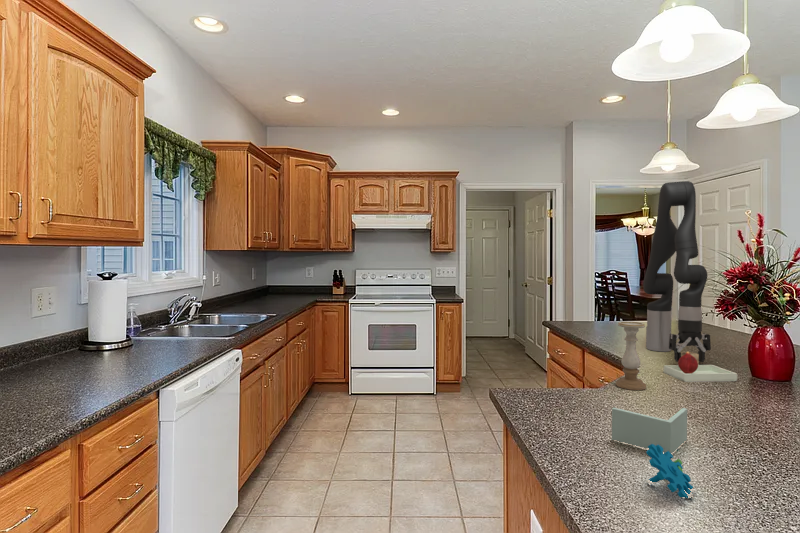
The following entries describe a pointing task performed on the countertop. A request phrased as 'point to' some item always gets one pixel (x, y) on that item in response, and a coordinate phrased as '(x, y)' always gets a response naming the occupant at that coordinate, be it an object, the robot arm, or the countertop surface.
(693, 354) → the maple block
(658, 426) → the right angle wall
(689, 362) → the pomegranate
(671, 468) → the teal irregular piece
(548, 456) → the countertop surface
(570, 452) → the countertop surface
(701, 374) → the tray
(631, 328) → the candle holder
